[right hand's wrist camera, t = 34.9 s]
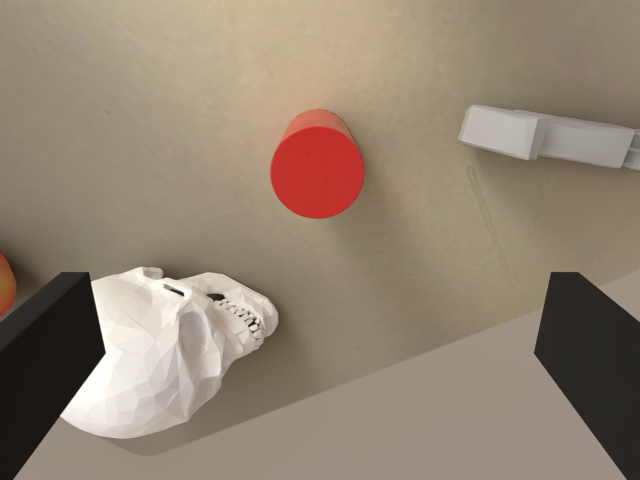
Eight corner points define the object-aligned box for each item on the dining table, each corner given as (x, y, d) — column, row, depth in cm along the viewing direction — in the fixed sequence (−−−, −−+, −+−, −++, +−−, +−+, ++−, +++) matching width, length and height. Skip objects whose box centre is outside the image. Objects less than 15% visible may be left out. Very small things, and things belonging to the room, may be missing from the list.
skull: (286, 354, 52) (272, 464, 37) (98, 364, 52) (9, 477, 37) (274, 246, 47) (254, 321, 32) (70, 258, 48) (-44, 338, 33)
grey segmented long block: (452, 141, 42) (483, 156, 36) (462, 101, 41) (496, 109, 35) (637, 165, 45) (696, 183, 39) (652, 128, 44) (716, 141, 38)
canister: (326, 95, 42) (329, 106, 30) (364, 153, 44) (382, 185, 32) (269, 136, 43) (251, 162, 31) (309, 191, 45) (306, 235, 33)
